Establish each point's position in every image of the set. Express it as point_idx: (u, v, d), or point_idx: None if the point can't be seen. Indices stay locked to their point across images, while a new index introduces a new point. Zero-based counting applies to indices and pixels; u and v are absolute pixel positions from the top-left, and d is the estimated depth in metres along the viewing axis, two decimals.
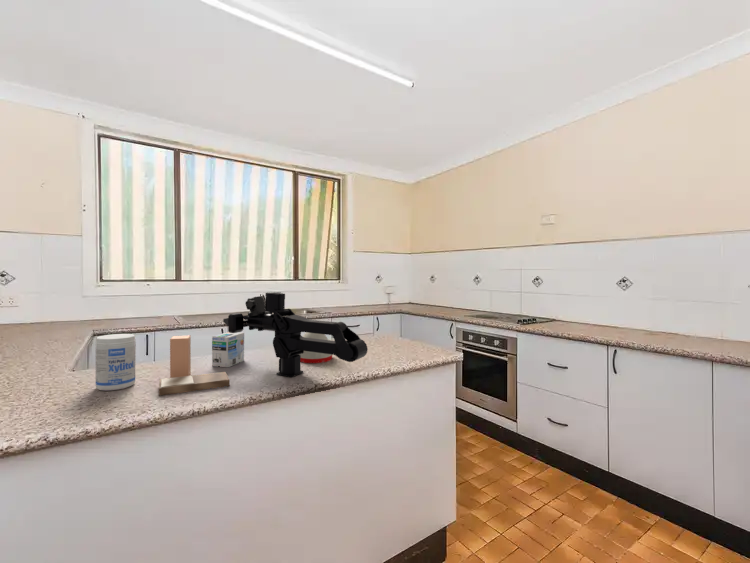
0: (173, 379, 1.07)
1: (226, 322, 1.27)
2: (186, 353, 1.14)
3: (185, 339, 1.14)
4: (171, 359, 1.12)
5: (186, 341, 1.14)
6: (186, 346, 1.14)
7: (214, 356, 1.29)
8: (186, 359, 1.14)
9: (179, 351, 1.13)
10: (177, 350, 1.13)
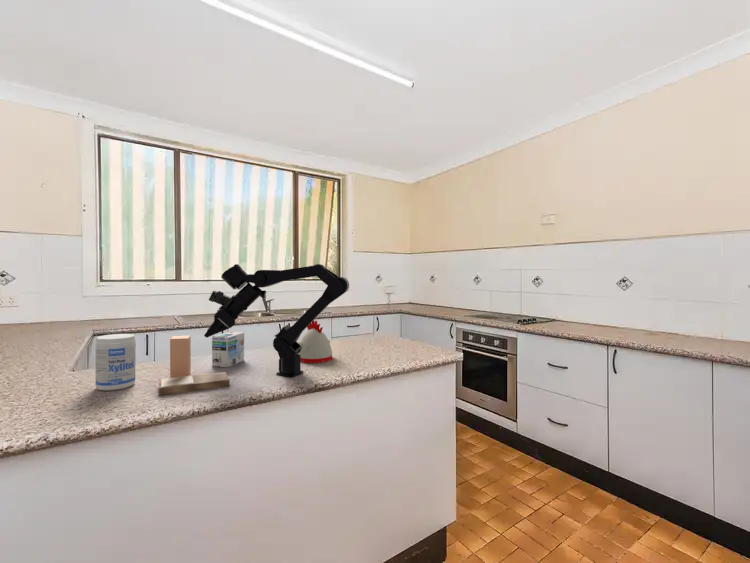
0: (173, 379, 1.07)
1: (211, 332, 1.13)
2: (186, 353, 1.14)
3: (185, 339, 1.14)
4: (171, 359, 1.12)
5: (186, 341, 1.14)
6: (186, 346, 1.14)
7: (214, 356, 1.29)
8: (186, 359, 1.14)
9: (179, 351, 1.13)
10: (177, 350, 1.13)
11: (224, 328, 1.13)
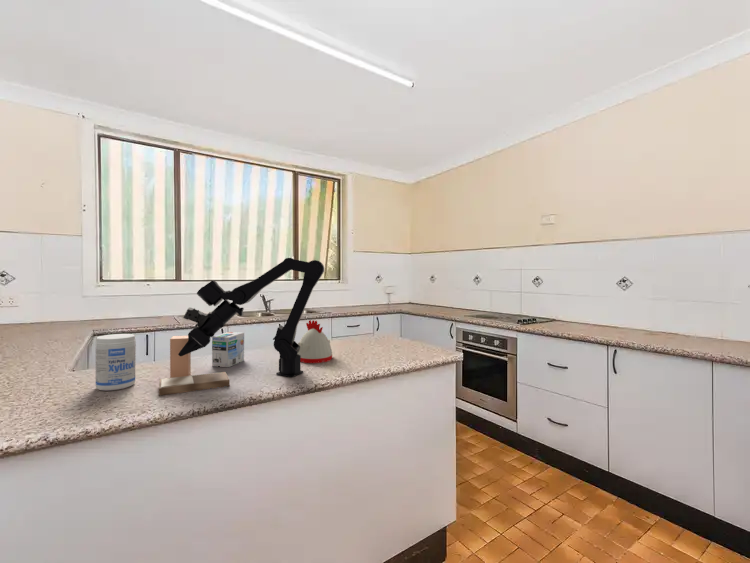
0: (173, 379, 1.07)
1: (186, 351, 1.11)
2: None
3: (185, 339, 1.14)
4: (171, 359, 1.13)
5: (186, 341, 1.14)
6: None
7: (214, 356, 1.29)
8: (186, 359, 1.14)
9: (179, 351, 1.13)
10: (177, 350, 1.13)
11: (199, 347, 1.11)
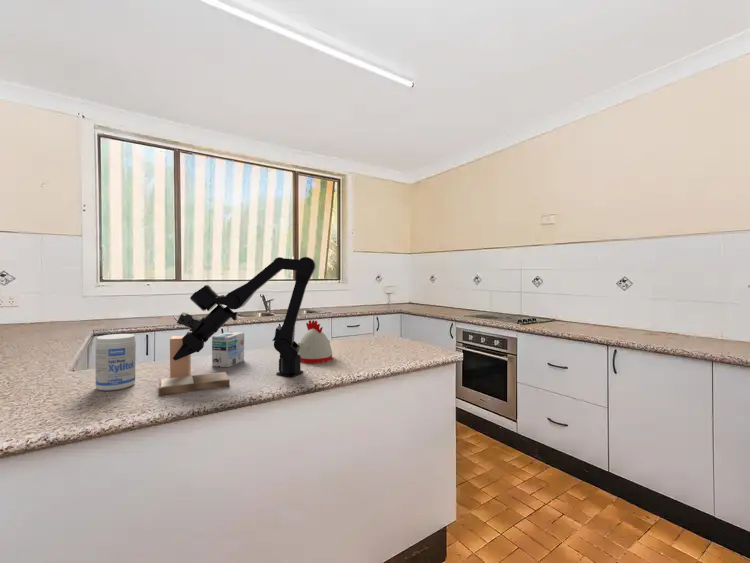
0: (173, 379, 1.07)
1: (180, 355, 1.12)
2: None
3: None
4: (171, 359, 1.12)
5: None
6: None
7: (214, 356, 1.29)
8: (186, 359, 1.14)
9: None
10: (177, 350, 1.13)
11: (193, 351, 1.12)
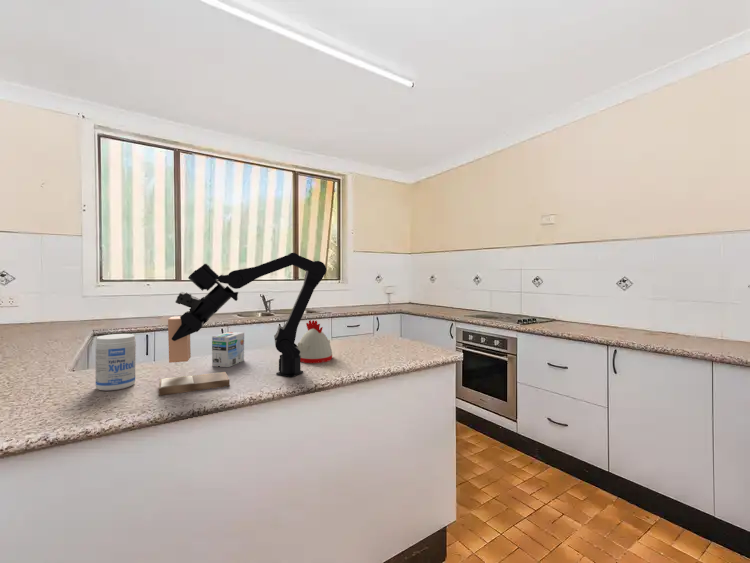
0: (173, 379, 1.07)
1: (179, 336, 1.09)
2: None
3: None
4: (169, 340, 1.09)
5: None
6: None
7: (214, 356, 1.29)
8: (185, 340, 1.10)
9: None
10: (176, 330, 1.09)
11: (192, 331, 1.09)
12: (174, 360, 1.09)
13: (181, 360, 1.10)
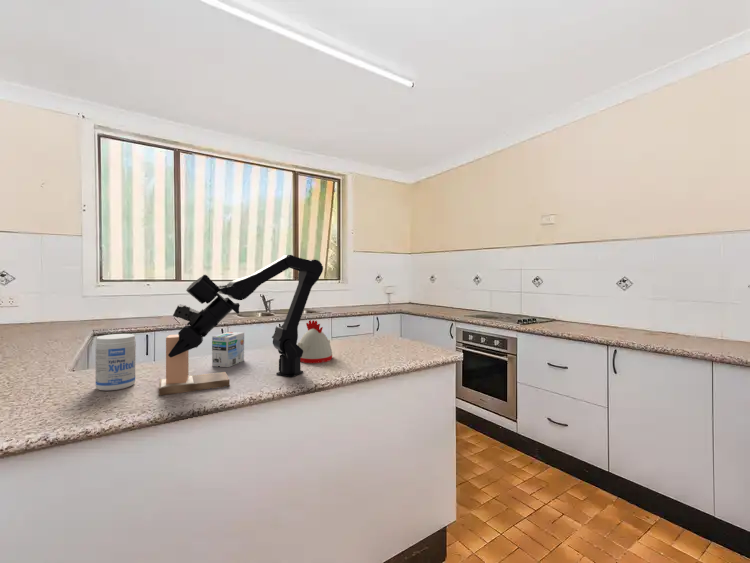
0: None
1: (176, 352, 1.02)
2: (183, 353, 1.04)
3: None
4: (167, 360, 1.03)
5: None
6: None
7: (214, 356, 1.29)
8: (183, 360, 1.04)
9: None
10: None
11: (190, 347, 1.02)
12: (171, 381, 1.03)
13: (179, 381, 1.04)
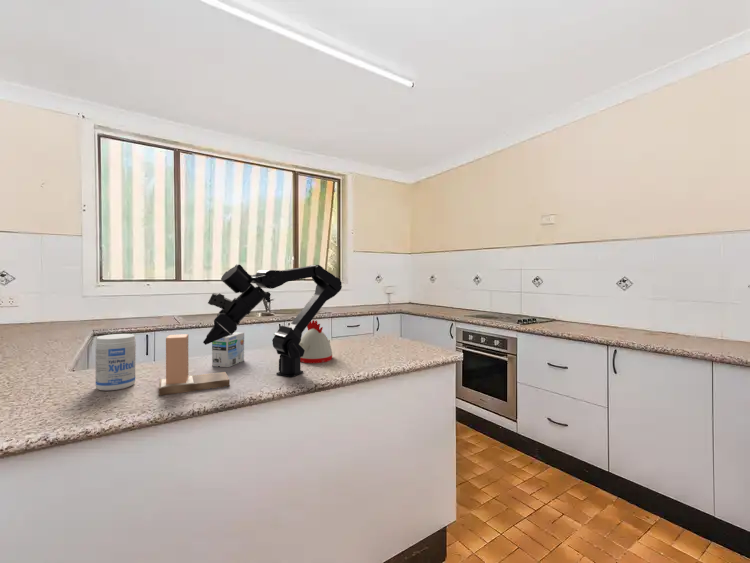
0: None
1: (211, 339, 1.03)
2: (183, 353, 1.04)
3: (182, 338, 1.04)
4: (167, 360, 1.03)
5: (183, 340, 1.04)
6: (183, 346, 1.04)
7: (214, 356, 1.29)
8: (183, 360, 1.04)
9: (176, 351, 1.03)
10: (174, 350, 1.03)
11: (225, 334, 1.04)
12: (171, 381, 1.03)
13: (179, 381, 1.04)
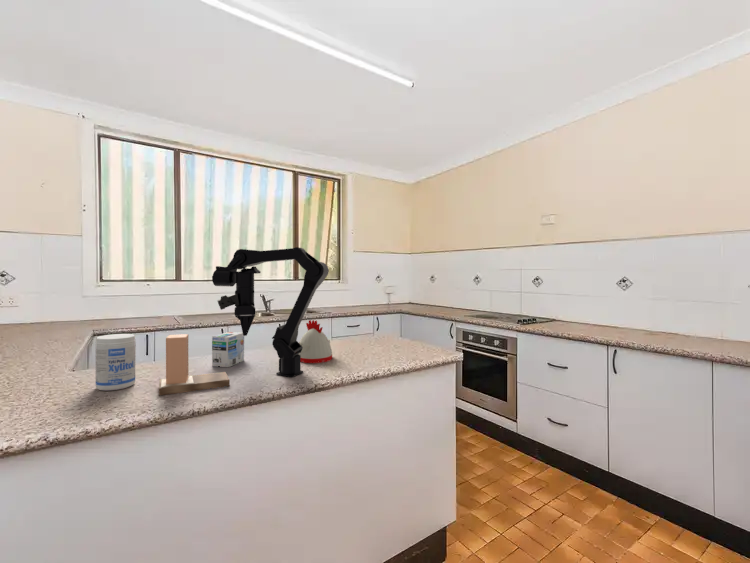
0: None
1: (246, 329, 1.19)
2: (183, 353, 1.04)
3: (182, 338, 1.04)
4: (167, 360, 1.03)
5: (183, 340, 1.04)
6: (183, 346, 1.04)
7: (214, 356, 1.29)
8: (183, 360, 1.04)
9: (176, 351, 1.03)
10: (174, 350, 1.03)
11: (251, 318, 1.18)
12: (171, 381, 1.03)
13: (179, 381, 1.04)
